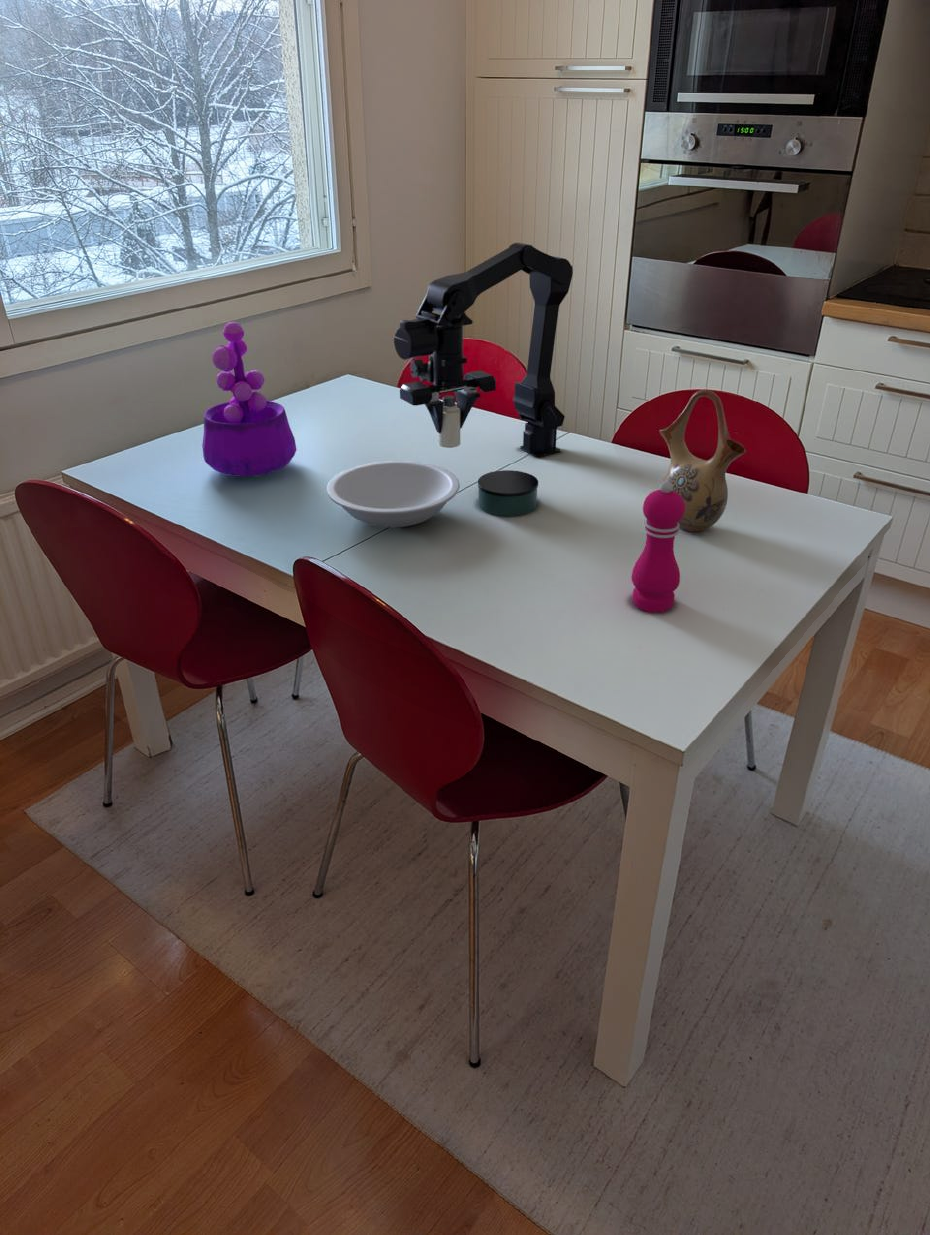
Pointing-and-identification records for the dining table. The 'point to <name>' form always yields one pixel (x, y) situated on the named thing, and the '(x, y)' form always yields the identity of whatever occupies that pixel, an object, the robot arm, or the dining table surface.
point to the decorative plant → (244, 418)
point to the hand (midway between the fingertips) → (449, 430)
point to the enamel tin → (507, 493)
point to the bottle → (450, 424)
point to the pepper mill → (658, 551)
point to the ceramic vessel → (700, 469)
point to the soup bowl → (393, 492)
